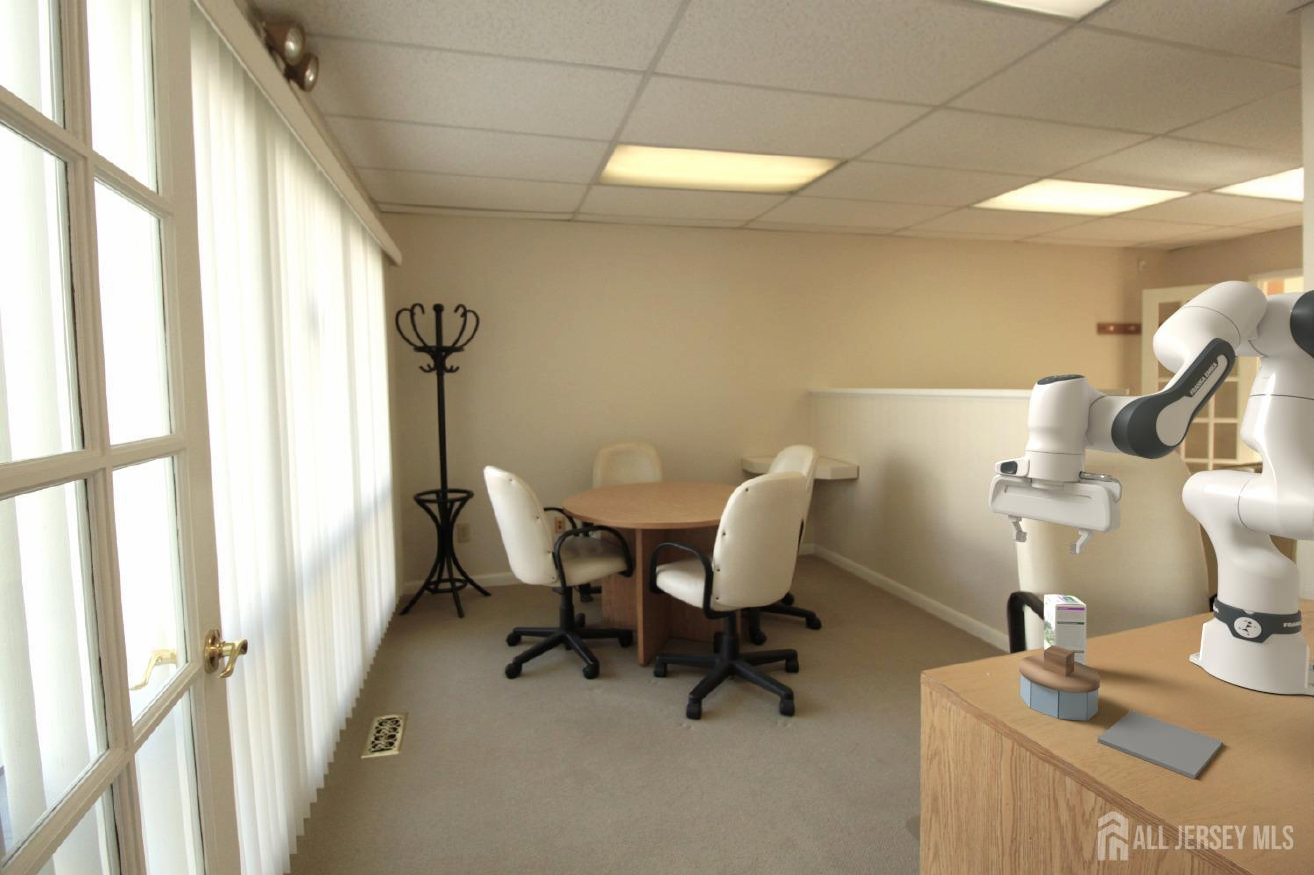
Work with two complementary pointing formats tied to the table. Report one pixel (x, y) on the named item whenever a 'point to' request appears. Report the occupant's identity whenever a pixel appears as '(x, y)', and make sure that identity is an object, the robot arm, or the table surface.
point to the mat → (1162, 743)
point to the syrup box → (1065, 624)
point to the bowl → (1059, 701)
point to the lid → (1059, 671)
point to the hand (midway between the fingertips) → (1047, 547)
